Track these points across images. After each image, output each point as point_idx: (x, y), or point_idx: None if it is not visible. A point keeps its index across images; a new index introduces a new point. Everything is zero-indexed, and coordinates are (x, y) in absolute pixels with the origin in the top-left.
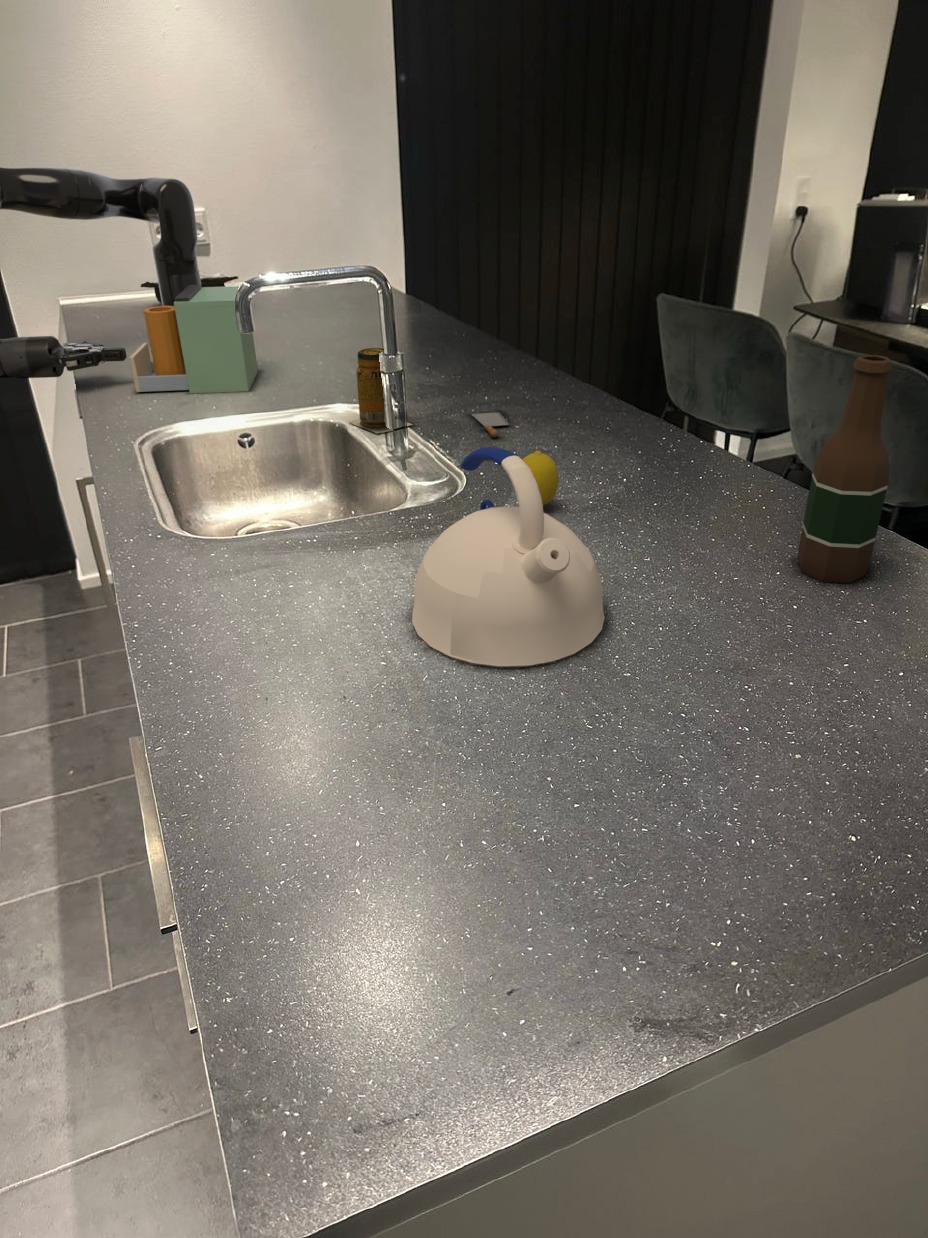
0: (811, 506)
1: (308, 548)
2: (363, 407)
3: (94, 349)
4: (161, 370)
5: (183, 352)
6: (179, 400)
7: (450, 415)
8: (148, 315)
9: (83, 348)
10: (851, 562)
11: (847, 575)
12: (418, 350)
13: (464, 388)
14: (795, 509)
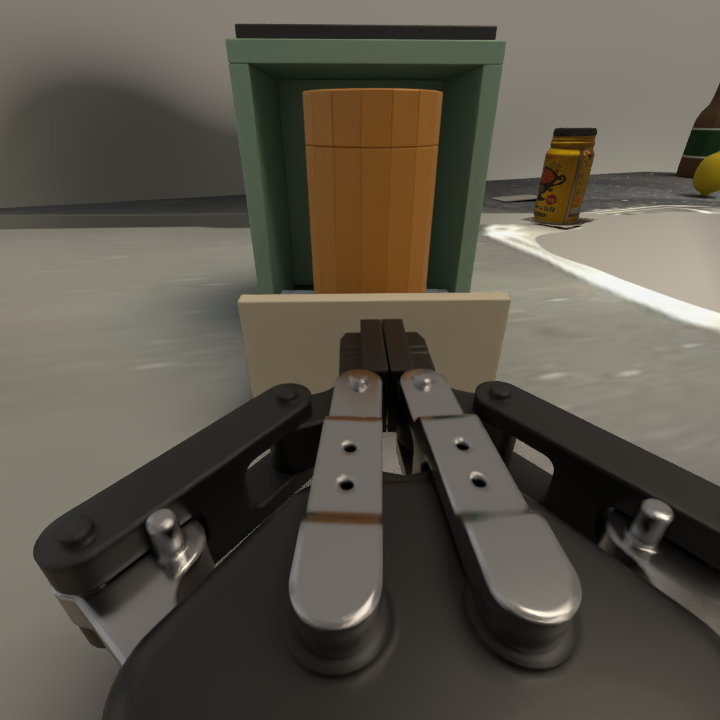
0: (718, 142)
1: None
2: (581, 199)
3: (423, 401)
4: None
5: (479, 222)
6: (527, 341)
7: (507, 206)
8: (436, 107)
9: (483, 431)
10: None
11: None
12: (233, 212)
13: None
14: (623, 175)
